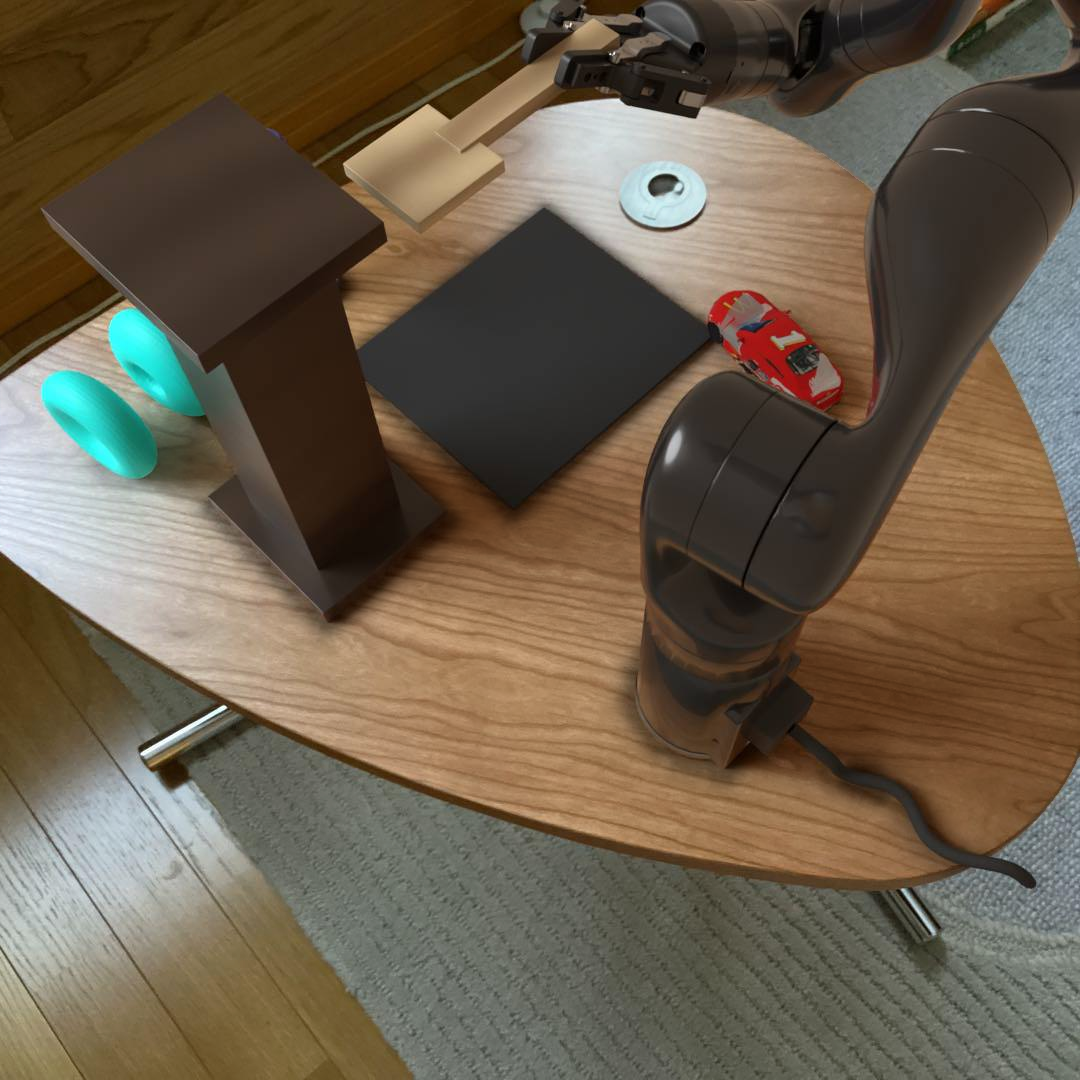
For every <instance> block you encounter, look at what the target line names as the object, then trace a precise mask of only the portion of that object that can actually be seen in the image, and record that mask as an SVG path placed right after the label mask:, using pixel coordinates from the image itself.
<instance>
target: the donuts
mask: <svg viewBox="0 0 1080 1080" xmlns="http://www.w3.org/2000/svg"><path fill="white" fill-rule="evenodd" d="M108 341H109V345H110V348H111V350H112V353H113V355H114V357H115V358H116V360H117V362H118V363H119V365H120V366H121V368H122V369H123V370H124V372H125V373H126V374H127V375H128V377H130V379H131V380H132V381H133V382H134V383H135V384H136V385H137V386H138V387H139V388H140V389H141V390H142V391H143V392H144V393H145V394H147V395H148V396H149V397H150V398H151V399H153V400H154V401H156V402H157V403H158V404H160V405H161V406H163V407H164V408H166V409H168V410H170V411H172V412H174V413H177V414H179V415H183V416H187V417H202V416H206V414H205V412H204V410H203V409H202V407H201V405H200V403H199V401H198V399H197V397H196V395H195V393H194V391H193V389H192V387H191V385H190V383H189V381H188V379H187V377H186V375H185V374H184V372H183V370H182V368H181V366H180V364H179V362H178V360H177V358H176V356H175V354H174V352H173V350H172V348H171V346H170V344H169V342H168V340H167V339H166V337H165V335H164V334H163V333H162V332H161V331H160V330H159V329H158V328H157V327H156V326H155V325H154V324H153V323H152V322H151V321H150V320H149V319H148V318H146V317H145V316H144V315H143V314H142V313H141V312H140V311H139V310H138V309H137V308H136V307H132V308H131V307H130V308H125V309H123V310H120V311H119V312H117V313H116V314H115V315H114V316H113V318H112V319H111V320H110V322H109V326H108ZM40 394H41V400H42V403H43V405H44V407H45V409H46V411H47V412H48V413H49V415H50V417H52V419H53V420H54V421H55V423H56V424H57V425H58V426H59V427H60V428H61V429H62V431H63V432H65V434H67V435H68V436H69V438H70V439H72V441H74V442H75V443H76V444H77V445H78V446H79V447H80V448H81V449H82V450H83V451H85V452H86V453H87V454H88V455H89V456H91V457H92V458H93V459H94V460H95V461H97V462H98V463H99V464H100V465H102V466H103V467H105V468H106V469H108V470H109V471H111V472H113V473H115V474H117V475H119V476H121V477H123V478H126V479H132V480H137V479H138V480H139V479H142V478H144V477H146V476H148V475H150V474H151V473H152V472H153V471H154V469H155V467H156V466H157V463H158V456H159V454H158V446H157V443H156V440H155V438H154V435H153V433H152V431H151V429H150V428H149V426H148V425H147V423H146V422H145V421H144V420H143V418H142V417H141V416H140V415H139V414H138V413H137V411H135V409H134V408H133V407H132V406H131V405H130V403H128V402H127V401H126V400H125V399H124V398H123V397H121V396H120V395H119V394H118V393H117V392H115V391H114V390H113V389H111V387H109V386H108V385H106V384H105V383H103V382H101V381H100V380H98V379H96V378H95V377H93V376H91V375H88V374H86V373H83V372H80V371H76V370H67V369H66V370H59V371H55V372H53V373H52V374H49V375H48V376H47V377H46V379H45V380H44V381H43V383H42V386H41V388H40Z"/></svg>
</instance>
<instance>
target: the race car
mask: <svg viewBox="0 0 1080 1080" xmlns="http://www.w3.org/2000/svg"><path fill="white" fill-rule="evenodd" d="M791 311H792V309H786V310H784V311H782V310H781V309H779V308H778V307H777V306H776V305H774V304H773V303H772V302H771V301H770V300H769V299H768V298H767V297H766V296H765V295H763V294H762V293H760V292H758V291H754V290H751V289H750V290H749V289H746V290H745V289H743V290H730V291H728V292H725V293H724V294H722V295H721V296H719V298H717V299H716V300H715V301H714V302H713V304H712V306H711V308H710V311H709V314H708V316H707V321H706V326H707V327H708V330H709V334H710V336H711V338H712V340H713V341H714V343H716V344H717V345H722V348H723V349H724V350H725V351H726V353H727V354H728V355H730V357H732V359H733V361H735V362H736V363H737V364H738V365H739V366H740V367H741V368H742V369H743V370H744V372H746V373H748V374H751V375H753V376H755V377H757V378H759V379H761V380H763V381H765V382H767V383H769V384H771V385H772V386H774V387H776V388H778V389H781V390H782V391H785V392H787V393H789V394H791V395H793V396H795V397H797V398H799V399H800V400H802V401H804V402H806V403H808V404H810V405H812V406H814V407H816V408H818V409H820V410H822V411H824V412H826V413H828V412H829V411H830V410H831V409H832V408H834V407H835V406H837V405H839V404H840V401H841V399H842V397H843V395H844V392H845V390H844V389H845V387H844V385H845V382H844V377H843V374H842V373H841V371H840V370H839V369H838V367H837V366H836V365H835V364H834V363H833V362H832V361H831V360H830V358H829V357H828V356H827V355H826V354H825V353H824V351H823V350H822V349H821V348H820V347H819V346H818V344H816V342H815V341H814V340H813V338H811V336H810V335H809V334H807V333H806V332H805V330H803V329H802V328H801V327H800V325H798V323H797V322H796V321H795V320H794V319H793V318H791V317H790V316H789V314H790V313H791Z"/></svg>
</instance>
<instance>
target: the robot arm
mask: <svg viewBox="0 0 1080 1080" xmlns="http://www.w3.org/2000/svg"><path fill="white" fill-rule="evenodd" d="M984 1H985V0H646V1H645V2H643V3H642V4H640V5H639V6H638V7H637V8H635V9H634V10H633V11H632V12H630V13H620V14H618V15H616V14H610V13H606V14H603V15H594V14H592V15H590V14H588V13H586V11H587V6H586V5H584V3H585V0H560V1H559V2H558V3H557V4H555V5H554V6H553V7H552V8H551V9H550V11H549V14H548V17H547V19H546V23H545V26H544V27H533V28H530V29H528V31H527V32H526V33H527V34H526V37H525V40H524V43H523V46H522V49H521V54H520V61H521V62H522V63H524V64H525V65H526V66H527V65H529V64H530V63H532V62H533V61H535V60H536V59H537V58H539V57H540V56H542V55H543V54H544V53H546V52H547V51H548V50H550V49H551V48H553V47H554V46H555V45H557V44H558V43H560V42H561V41H562V40H564V39H565V38H567V37H568V36H569V35H571V34H572V33H574V32H575V31H576V30H578V29H579V28H580V27H582V26H583V25H585V24H586V23H587V22H589V21H590V20H592V19H593V18H594V19H596V20H597V21H599V22H600V23H602V24H604V25H605V26H607V27H608V28H610V29H611V30H613V31H614V32H616V33H618V34H619V35H620V48H614V49H608V50H607V53H605V52H603V51H602V50H600V49H591V50H568V51H566V52H564V54H563V55H562V57H561V59H560V62H559V65H558V68H557V71H556V74H555V77H554V83H555V84H556V85H557V86H559V87H560V88H562V89H563V90H565V91H566V90H578V89H591V88H594V89H596V90H597V91H598V92H599V93H601V94H604V95H605V94H606V95H611V94H617V95H619V96H620V97H619V101H620V102H621V103H623V105H625V106H628V107H632V108H638V109H643V110H648V111H653V112H657V113H663V114H667V115H673V116H678V117H682V118H683V117H684V118H687V119H691V120H692V119H693V120H695V119H697V118H698V116H699V114H700V111H701V109H702V108H705V107H713V106H714V107H715V106H718V105H722V104H725V103H728V102H731V101H737V100H748V99H757V98H763V97H766V99H767V101H768V102H767V103H768V104H769V105H770V106H771V107H772V108H773V109H774V110H775V111H776V112H778V113H780V115H783V116H786V117H790V118H805V117H810V116H814V115H817V114H820V113H822V112H825V111H827V110H829V109H831V108H833V107H834V106H836V105H837V104H839V103H841V102H842V101H843V100H845V99H846V98H847V97H849V96H850V95H851V94H852V93H854V92H855V91H856V90H857V89H858V88H859V87H861V86H862V85H863V84H864V83H866V82H867V81H869V80H870V79H872V78H873V77H875V76H877V75H880V74H883V73H887V72H890V71H894V70H898V69H901V68H904V67H909V66H913V65H915V64H920V63H923V62H925V61H928V60H930V59H932V58H933V57H935V56H937V55H940V53H942V52H944V51H945V50H948V48H950V46H952V45H953V44H954V43H955V42H956V41H957V40H958V39H959V38H960V37H961V36H962V35H963V34H964V32H966V30H967V28H968V27H969V26H970V24H971V23H972V21H973V19H974V18H975V17H976V15H977V13H978V12H979V10H980V8H981V6H982V5H983V3H984ZM1050 1H1051V3H1052V5H1053V7H1054V9H1055V11H1056V13H1057V14H1058V17H1059V18H1060V20H1061V21H1062V23H1063V24H1064V27H1065V29H1066V31H1067V33H1068V38H1069V48H1068V51H1067V55H1066V57H1065V59H1064V60H1063V62H1062V63H1061V65H1060V66H1059V67H1058V68H1057V69H1053V70H1049V71H1043V72H1035V73H1026V74H1025V73H1024V74H1018V75H1011V76H1008V77H1003V78H998V79H994V80H989V81H986V82H983V83H979V84H976V85H974V86H971V87H969V88H967V89H965V90H962V91H961V92H958V93H956V94H954V95H953V96H951V97H949V98H948V99H946V100H945V101H944V102H942V103H941V104H940V105H939V106H938V107H936V108H935V109H934V110H933V111H932V112H931V113H930V114H929V116H928V117H927V118H926V120H925V121H924V122H923V123H922V124H921V126H920V127H919V128H918V130H916V132H915V133H914V135H912V138H911V139H910V141H909V142H908V144H907V145H906V146H905V148H904V149H903V151H902V152H901V153H900V154H899V156H898V158H897V159H896V161H894V163H893V165H892V166H891V167H890V169H889V170H888V172H887V173H886V175H885V176H884V178H883V179H882V180H881V182H880V184H879V185H878V187H877V188H876V190H875V191H874V193H873V196H872V198H871V199H870V202H869V205H868V208H867V213H866V217H865V224H864V231H863V232H864V234H863V260H864V273H865V282H866V283H865V284H866V290H867V298H868V299H867V300H868V305H869V312H870V313H869V314H870V320H871V329H872V341H873V343H872V344H873V347H872V348H873V349H872V377H871V386H870V395H869V402H868V405H867V409H866V414H865V418H864V420H863V421H862V422H861V423H859V424H857V425H853V424H850V423H847V422H845V421H843V420H840V419H839V418H838V417H836V416H834V415H832V414H830V413H828V412H824V411H822V410H820V409H818V408H816V407H814V406H812V405H810V404H808V403H806V402H804V401H802V400H800V399H799V398H797V397H795V396H793V395H791V394H789V393H787V392H785V391H782V390H781V389H778V388H776V387H774V386H772V385H771V384H769V383H767V382H765V381H763V380H761V379H759V378H757V377H755V376H753V375H751V374H748V373H747V372H746V371H743V370H737V369H725V370H720V371H717V372H714V373H711V374H710V375H708V376H706V377H705V378H703V379H702V380H700V381H698V382H697V383H696V384H695V385H694V386H693V387H692V388H691V389H689V391H687V392H686V393H685V394H684V395H683V397H682V398H681V399H680V400H679V402H678V403H677V404H676V406H675V407H674V408H673V410H671V413H670V414H669V416H667V417H668V418H667V419H666V421H665V422H664V424H663V426H662V428H661V430H660V432H659V434H658V436H657V439H656V441H655V443H654V446H653V449H652V451H651V453H650V456H649V459H648V462H647V467H646V470H645V474H644V479H643V484H642V489H641V494H640V503H639V522H638V523H639V527H638V530H639V551H640V556H639V557H640V568H639V571H640V572H639V575H640V583H641V588H642V590H643V592H644V595H645V602H644V603H645V604H644V612H643V621H642V630H641V639H640V650H639V657H638V667H637V668H638V669H637V672H636V677H635V684H634V700H635V701H634V702H635V706H636V710H637V713H638V715H639V718H640V720H641V722H642V724H643V725H644V727H645V729H646V730H647V731H648V732H649V734H650V735H651V736H652V737H653V738H654V739H655V740H656V741H657V742H658V743H659V744H661V745H662V746H664V747H665V748H666V749H668V750H670V751H671V752H674V753H676V754H678V755H680V756H684V757H687V758H691V759H696V760H710V761H711V762H713V763H714V764H715V765H716V766H717V767H719V768H720V769H725V768H726V767H728V766H729V764H730V763H732V762H733V761H734V759H735V758H737V756H738V755H739V754H740V753H741V752H742V751H743V750H744V749H745V748H746V747H748V746H749V745H750V744H752V745H753V746H754V747H755V748H756V749H757V750H759V751H760V752H761V753H762V754H763V755H764V756H765V757H769V756H770V754H771V753H772V752H773V751H774V750H775V749H776V748H777V747H778V746H779V745H780V744H781V743H782V742H783V740H785V739H786V738H787V736H789V737H790V738H791V739H793V741H795V742H796V743H797V744H799V746H801V747H802V748H804V749H805V750H806V751H807V752H809V753H810V754H811V755H813V756H814V757H815V758H816V759H817V760H818V761H819V762H821V763H822V764H823V765H825V766H826V767H827V769H828V770H829V771H830V772H831V774H833V776H835V777H837V778H838V779H840V780H842V781H844V782H846V783H850V784H853V785H856V786H861V787H866V788H871V789H876V790H880V791H883V792H885V793H888V794H889V795H890V796H892V797H894V798H895V799H897V800H898V802H899V803H900V804H901V805H902V807H903V808H904V811H905V812H906V814H907V816H908V818H909V821H910V823H911V825H912V827H913V829H914V831H915V834H916V835H917V836H918V838H919V839H920V841H921V842H922V843H923V845H925V846H926V848H927V849H929V850H930V851H931V852H933V853H934V854H936V855H937V856H939V857H941V858H943V859H945V860H946V861H949V862H951V863H953V864H957V865H961V866H963V867H968V868H971V869H978V870H982V871H989V872H992V873H993V872H994V873H998V874H1001V875H1004V876H1008V877H1009V878H1012V879H1013V880H1015V881H1016V882H1017V883H1018V884H1020V885H1021V886H1022V887H1024V888H1026V889H1027V890H1028V889H1029V890H1033V889H1035V888H1037V881H1036V879H1035V877H1034V875H1032V874H1031V872H1029V871H1028V870H1027V869H1026V868H1025V867H1023V866H1021V865H1019V864H1017V863H1015V862H1014V861H1010V860H1007V859H1004V858H999V857H993V856H991V855H983V854H978V853H973V852H968V851H966V850H961V849H958V848H956V847H953V846H951V845H949V844H947V843H945V842H944V841H943V840H941V839H940V838H938V837H937V836H936V835H935V834H934V832H933V831H932V829H931V828H930V826H929V825H928V822H927V820H926V818H925V816H924V813H923V812H922V809H921V808H920V805H919V804H918V802H917V800H916V799H915V797H914V796H913V795H912V793H911V792H910V791H909V790H908V789H906V788H905V787H904V786H903V785H901V784H900V783H899V782H897V781H895V780H893V779H891V778H888V777H886V776H882V775H879V774H875V773H869V772H864V771H859V770H856V769H854V768H851V767H848V766H847V765H845V764H844V763H843V762H842V760H841V759H840V758H839V757H838V756H837V755H836V754H835V753H833V751H831V750H830V749H829V748H827V747H826V745H824V744H823V743H821V742H820V741H819V740H818V739H817V738H815V737H814V736H813V735H812V734H810V733H809V732H808V731H806V730H805V729H804V728H803V727H802V726H800V725H799V724H800V722H801V721H802V720H803V719H804V718H806V716H807V715H808V713H809V711H810V710H811V707H812V705H813V703H814V701H815V697H814V696H812V695H811V694H810V693H809V692H808V691H807V690H806V689H804V688H803V687H802V686H801V685H800V684H799V683H798V682H796V681H795V680H794V679H795V677H796V675H797V673H798V670H799V668H800V665H801V663H802V662H803V658H802V656H801V654H799V653H798V652H797V651H796V650H795V647H796V645H797V644H798V640H799V639H800V635H801V633H802V631H803V628H804V626H805V623H806V622H807V619H808V616H809V615H811V614H813V613H815V612H818V611H819V610H820V609H822V608H823V607H825V606H826V605H827V604H829V603H830V602H831V601H832V600H833V599H834V597H836V595H838V593H840V591H841V590H842V589H843V588H844V586H846V584H847V582H848V581H849V580H850V579H851V577H852V576H853V574H854V573H855V572H856V570H857V568H858V567H859V566H860V564H861V563H862V561H863V559H864V558H865V557H866V555H867V553H868V551H869V549H870V548H871V546H872V544H873V543H874V541H875V539H876V538H877V536H878V534H879V532H880V530H881V528H882V526H883V525H884V523H885V522H886V519H887V517H888V516H889V515H890V512H891V510H892V509H893V507H894V504H895V503H896V501H897V499H898V497H899V495H900V493H901V492H902V490H903V488H904V486H905V484H906V482H907V481H908V478H909V477H910V475H911V472H912V471H913V469H914V467H915V465H916V464H917V462H918V460H919V459H920V456H921V455H922V453H923V451H924V449H925V447H926V445H927V443H928V441H929V439H930V437H931V436H932V435H933V432H934V430H935V429H936V427H937V425H938V423H939V421H940V419H941V418H942V415H943V414H944V412H945V411H946V408H947V407H948V404H949V403H950V401H951V399H952V397H953V395H954V394H955V392H956V390H957V388H958V387H959V385H960V383H961V381H962V380H963V378H964V376H965V374H966V373H967V371H968V370H969V368H970V366H971V365H972V363H973V362H974V360H975V358H976V357H977V356H978V355H979V352H980V351H981V349H982V348H983V346H984V345H985V344H986V342H987V340H988V339H989V337H990V336H991V334H992V333H993V331H994V330H995V329H996V327H997V325H998V324H999V322H1000V321H1001V320H1002V318H1003V316H1004V315H1005V314H1006V312H1007V311H1008V309H1009V308H1010V306H1011V304H1012V303H1013V301H1014V300H1015V299H1016V297H1017V296H1018V294H1019V293H1020V291H1021V290H1022V289H1023V287H1024V285H1025V284H1026V283H1027V281H1028V280H1029V279H1030V277H1031V276H1032V274H1033V273H1034V271H1035V270H1036V269H1037V267H1038V266H1039V264H1040V263H1041V261H1042V260H1043V258H1044V256H1045V255H1046V253H1047V252H1048V250H1049V248H1050V247H1051V245H1052V243H1053V242H1054V240H1056V237H1057V236H1058V234H1059V232H1060V231H1061V229H1062V227H1064V224H1065V222H1066V221H1067V219H1068V218H1069V216H1070V214H1071V213H1072V210H1073V209H1074V207H1075V205H1076V203H1077V202H1078V200H1079V198H1080V0H1050Z"/></svg>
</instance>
